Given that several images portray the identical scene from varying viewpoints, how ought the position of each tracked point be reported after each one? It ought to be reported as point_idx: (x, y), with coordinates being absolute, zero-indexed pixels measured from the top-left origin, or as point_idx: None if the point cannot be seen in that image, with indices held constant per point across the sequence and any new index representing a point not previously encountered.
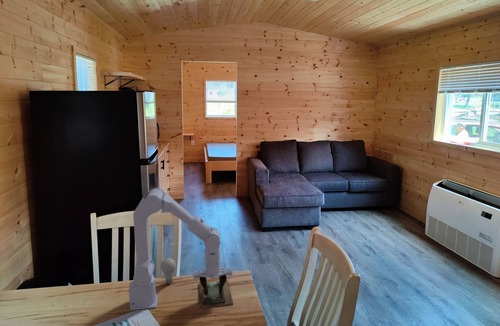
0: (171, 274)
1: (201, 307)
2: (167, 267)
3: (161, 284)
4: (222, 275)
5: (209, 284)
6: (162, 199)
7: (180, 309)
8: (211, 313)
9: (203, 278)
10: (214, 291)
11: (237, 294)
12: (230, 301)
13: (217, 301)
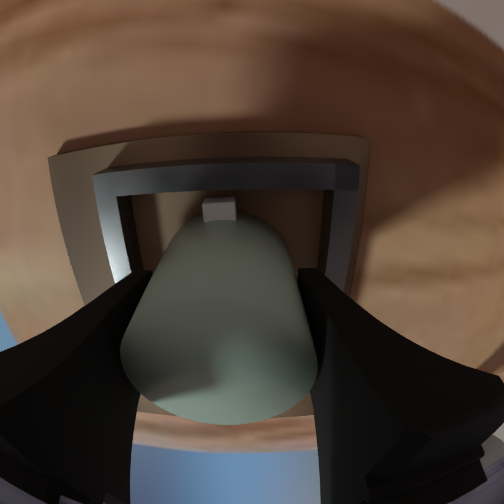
0: None
1: (360, 136)
2: None
3: None
4: (16, 486)
5: (270, 396)
6: None
7: (492, 172)
8: (263, 31)
9: (423, 491)
10: (198, 267)
11: (48, 284)
12: (67, 185)
13: (180, 164)
